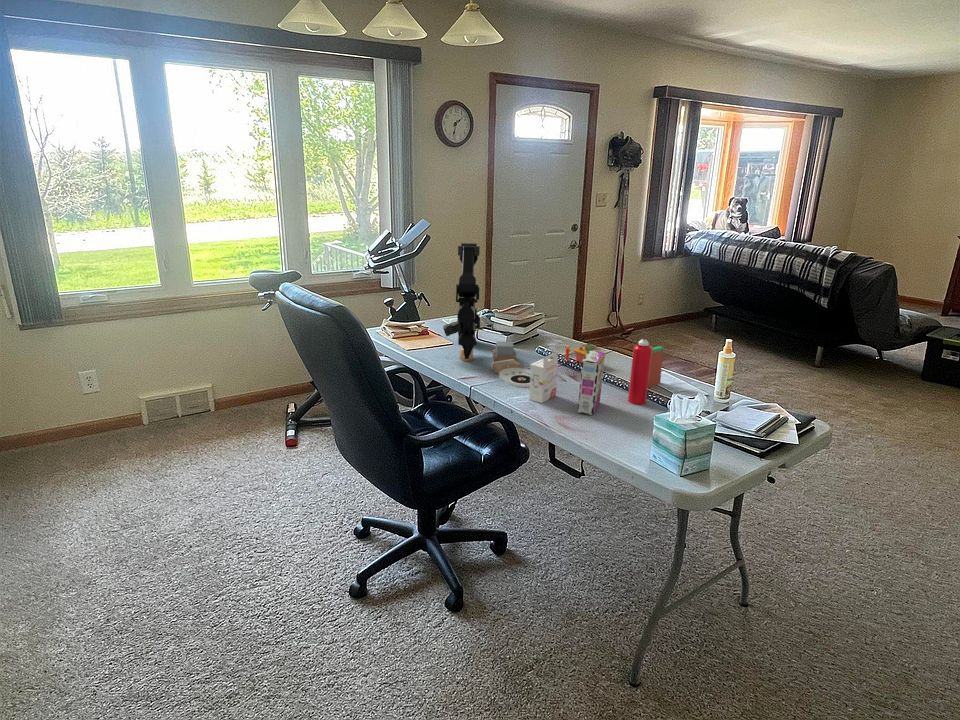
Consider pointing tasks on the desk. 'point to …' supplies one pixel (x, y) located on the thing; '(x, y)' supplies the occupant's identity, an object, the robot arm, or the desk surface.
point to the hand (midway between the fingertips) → (466, 356)
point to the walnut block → (503, 357)
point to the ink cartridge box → (543, 378)
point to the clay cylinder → (464, 356)
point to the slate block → (504, 348)
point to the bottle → (640, 373)
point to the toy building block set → (654, 367)
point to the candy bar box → (591, 382)
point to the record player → (512, 372)
